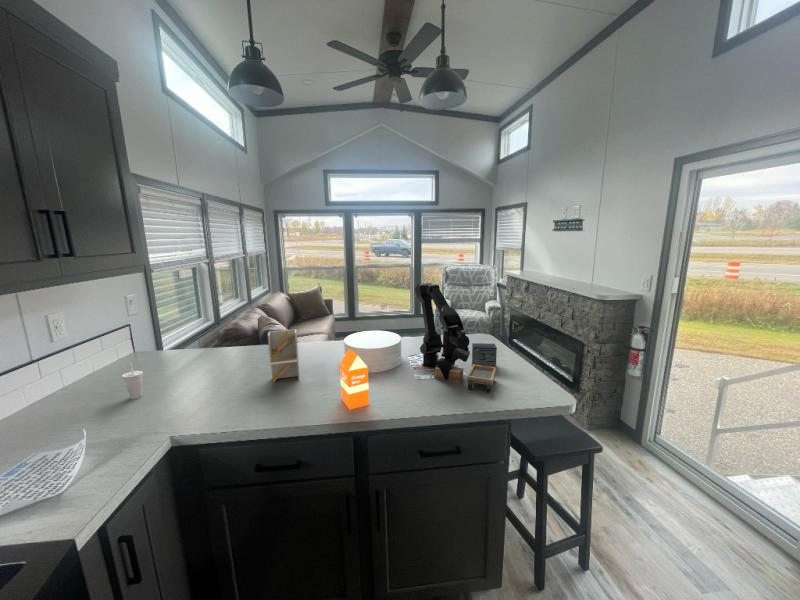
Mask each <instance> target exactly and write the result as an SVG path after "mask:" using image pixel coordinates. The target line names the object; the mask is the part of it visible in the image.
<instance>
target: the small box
mask: <svg viewBox="0 0 800 600" xmlns="http://www.w3.org/2000/svg"><path fill="white" fill-rule="evenodd" d="M471 345H472V346H471V347H472V348H471V367H472V366H473V364H474V365H481V366H488V367H496V368H497V351H498V349H497V348H498V347H497V345H496V344H495V343H482V342H479V343H471Z"/></svg>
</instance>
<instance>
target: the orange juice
mask: <svg viewBox="0 0 800 600" xmlns="http://www.w3.org/2000/svg"><path fill="white" fill-rule="evenodd" d="M344 355H345V356H344V357H343V358H342V360H341V361H340V363H339V369H340V389H341V391H340V392H341V401H342V402H343V403H344V404H345V405H346V407H347V408H348V409H349V410H353V409H356V408H361V407H365V406H368V405H369V404H370V399H369V397H370V395H369V392H370V391H369V372H368V367H367V366H366V365H365V363H364V362H363V361H362V360H361V359H360V357H359V356H358V355H357V354H356V353H355V352H353V351H352V350H351V349H350V348H349V349H348V351H347V353H346V354H344Z"/></svg>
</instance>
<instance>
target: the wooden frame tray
mask: <svg viewBox="0 0 800 600" xmlns="http://www.w3.org/2000/svg"><path fill="white" fill-rule="evenodd" d="M496 373H497V366H496V367H488V366H481V365H474V364H473V366H472V365H471V368H470V370H469V372H468V375H466V376H467V378H466V379H467V380H466V381H467V389H469V390H472V389H473V386H474V385H473V384H474V383H476V384H479V385H486V386H487V389H486V390H487V393H492V390H493V383H494V382H495V380H496Z"/></svg>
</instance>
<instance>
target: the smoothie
mask: <svg viewBox="0 0 800 600" xmlns="http://www.w3.org/2000/svg"><path fill="white" fill-rule="evenodd" d="M129 365H130V370H131V371H129V372H126V373H123V374H122V375H121V379H122V380H123V382H124V384H125V388H126V389H127V393H128V395H129V397H130V400H137V399H140V398H142V397H143V375H144V371H142V370H134V368H133V363H132V362H131V363H129Z"/></svg>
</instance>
